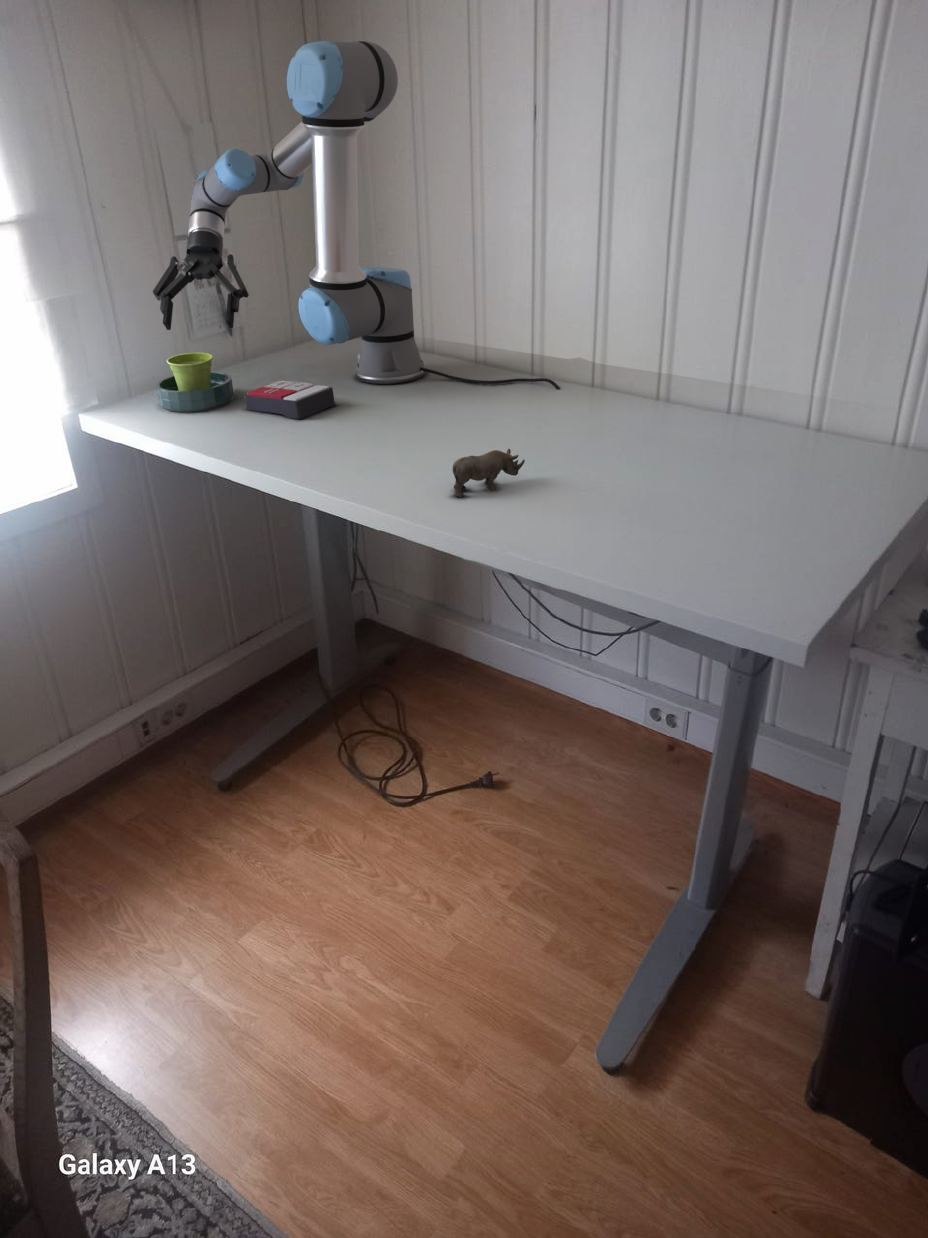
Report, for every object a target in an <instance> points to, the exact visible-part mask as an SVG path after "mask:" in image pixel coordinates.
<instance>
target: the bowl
mask: <svg viewBox="0 0 928 1238" xmlns="http://www.w3.org/2000/svg"><path fill="white" fill-rule="evenodd" d="M155 387H156V392H157V397H158V403H159V406H160V407H162V408H163V409H166V410H167V411H170V412H177V413H196V412H197V413H198V412H203V411H210V410H213V409H218V408H220V407H223V406H225V405H227V404H229V403H230V402H231V401H232V400H233V399H234V397H235V391H234V384H233V379H232V375H230V373H226V372H221V371H214V370H212V371H211V387H210V388H205V389H199V390H190V391H179V389H178V386H177V383H176V380H175V377H174V375H170V376H167V377H165V378H163V379H160V380H159V381H158V382H157V383H156V386H155Z"/></svg>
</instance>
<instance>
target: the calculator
mask: <svg viewBox="0 0 928 1238" xmlns="http://www.w3.org/2000/svg"><path fill="white" fill-rule="evenodd" d="M244 401H245V406H246V407H245V408H246V410H247V411H253V412H254V411H255V412H262V413H270V414H271V413H272V414H278V415H283V417H285V418H286V419H296V420H301V419H304V418H307V417H309V416H312V415H314V414H317V413H319V412H321V411H323V410H326V409H328V408H331V407H333V406H335V405H336V401H335V395H334V388H333V387H330V386H329V385H319V384H316V385H315V383H310V382H309V383H308V382H301V381H300V382H296V381H289V380H278V381H275V382H272V383H269V384H267V385H265V386H261V387H258V388H256V389H253V390H250V391H247V392H246V394H245V395H244Z"/></svg>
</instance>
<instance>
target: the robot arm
mask: <svg viewBox="0 0 928 1238" xmlns="http://www.w3.org/2000/svg"><path fill="white" fill-rule="evenodd" d="M398 84H399V77H398V71H397V66H396V64H395V62H394V60H393V58H392V56H391V55H390V54H389V53H388V51H387V50H385V49H384V48H383V47H382V46H380V44H379V45H378V44H377V43H374V42H372V41H369V40H368V41H367V40H358V41H340V40H339V41H338V40H337V41H335V40H334V41H333V40H332V41H331V40H330V41H329V40H323V41H322V40H320V41H314V42H308V43H306V44H303V45H301V47H299V48H298V49H297V50H296V52H295V54H294V55H293V56H292V58H291V59H290V62H289V65H288V68H287V75H286V89H287V90H286V91H287V95H288V98H289V100H290V101H291V102H292V103H291V105H292V107H293V109H294V110H295V111H296V112H297V113H298V114H300V115H301V122H299V123H298V124H297V125H296V126H295V127H294V128H293V129H292V130H290V131H289V133H288V134H287V135H285V136H284V137H283V138H282V139H281V140H280V141H279V142H278V143H277V144H276V145H275V146H274V147H273V148H272V149H270V150H269V151H268V152H266V153H262V154H252V155H250V154H249V153H248V152H246V151H245V150H241V149H239V148H238V147H237V148H236V147H233V148H230V149H227V150H226V151H225V152H224V153H223V154H222V155H221V156H219V157H218V159H217V160H216V161H215V163H214V164H213V166H212V167H211V169H210V170H203V171H202V172H199V173H200V175H199V177H198V179H197V180H196V182H195V183H196V184H195V187H194V191H193V195H191V196H192V200H191V199H190V209H189V222H188V231H187V239H186V240H187V242H186V255H185V258H184V259H181V258H177V256H175V255H174V256H171V257H170V261H169V265H168V266H167V268H166V270H165V271H164V273H163V274H162V276H161V277H160V279H159V281H158V282H157V284H156V285H155V286H154V288H153V289H152V294H153V296H154V297H155V298H156V300H157V301H160V306H159V311H160V312H161V314H162V315H163V316H162V324H163V326H164V327H165V329H166V331H171V329H172V321H173V310H174V302H173V299H174V298H175V297H176V296H177V295H178V294H179V293H181V291H183V289H184V288H185V287H186V286H187V285H188V284H189V283H190V284H191V283H192V282H193V281H195V279H196V281H200V280H211V279H213V278H215V279H216V281H217V282H219V284H221V286H222V287H223V288H224V289H225V290H226V291H227V292H228V294H227V301H226V314H225V316H226V317H225V323H226V324H227V326H228V327H229V329H233V328H234V322H235V313H239V310H240V301H241V299H242V298H245V299H246V298H248V297H249V296H250V294H249V292H248V289H247V287H246V285H245V283H244V281H243V279H242V278H241V274H239V271H238V269H237V262H236V259H235V257H234V255H233V254H228V255H227V257H223V251H224V239H225V238H224V237H225V226H226V215H227V210H228V209H229V208H230V207H231V206H232V205H233V204H234V203H235V202H236V200H237V199H238V198H239V197H241V196H247V195H248V196H249V195H254V194H261V193H269V192H277V191H288V190H290V189H294V188H297V187H298V186H300V185H301V184H302V181H303V178H304V174H305V171H307V170H308V168H310V167H311V170H312V171H311V172H312V189H313V190H312V193H313V194H312V195H313V218H314V219H313V220H314V241H315V243H314V244H315V263H316V265H315V267H314V268H313V269H312V270H311V271H310V272H309V273H308V278H309V287H308V288H307V289H305V290H304V291H302V293H301V295H300V296H299V299H298V314H299V317H300V321H301V323H302V325H303V327H304V328H305V330H306V331H307V332H308V334H309V336H310V337H311V338H313V339H314V340H315V341H316V342H318V343H320V344H323V345H326V346H330V345H335V344H344V343H347V342H348V341H352V340H355V339H358V338H361V345H360V350H359V354H358V353H357V360H358V363H357V365H356V378H357V380H358V381H361V382H363V383H366V384H371V385H372V384H374V385H394V384H397V385H398V384H404V383H409V382H413V381H415V380H418V379H420V378H422V377H424V375H425V373H428V374H433V375H437V376H439V377H440V376H441V377H444V378H446V379H450V380H454V381H459V382H464V383H470V384H481V385H495V384H496V385H499V384H508V383H517V382H518V383H519V382H520V383H522V382H523V383H525V382H526V383H538V382H540V383H541V382H546V383H549V384H550V385H552V387H554V388H555V389H556V390H558V391H559V390H561V387H560V386H559V385H558V383H556V382H555V381H554V380H552V379H550V378H545V377H539V378H538V377H536V378H522V377H521V378H520V377H519V378H508V379H499V380H497V379H496V380H482V379H471V378H465V377H460V376H455V375H450V374H448V373H444V372H440V371H437V370H433V369H430V368H426V367H425V364H424V361H423V359H422V358H421V355H420V352H419V349H418V346H417V343H416V339H415V328H414V327H415V325H414V308H413V288H412V283H411V276H410V274H409V272H408V271H407V270H405V269H401V268H394V267H381V266H380V267H377V266H365V267H361V266H360V252H359V249H360V248H359V246H360V245H359V196H358V195H359V194H358V193H359V191H358V190H359V189H358V139H357V137H358V135H359V133H360V132H361V131H362V130H363V129H364V128H365V123H369V122H371V121H373V120H375V119H376V118H377V117H378V116H379V115H381V114H382V113H383V112H384V111H385V110H386V109H387V108H388V107H389V106H390V104H391V103H392V101H393V100H394V98H395V96H396V94H397V90H398ZM202 181H203V183H202ZM202 186H203V188H202ZM203 190H204V191H203ZM224 266H225V268H227V269H229V270H230V271H231V274H232V276H233V278H234V280H235V282H236V284H237V287H238V289H237V288H236V287H235V286H234V285H233V284H232V283H231V281H229V280H228V279H227V277H226V276H225V275H224V274H223V273H222V272H221V269H222V268H223V267H224ZM179 272H180V273H179Z"/></svg>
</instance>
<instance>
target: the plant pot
mask: <svg viewBox="0 0 928 1238" xmlns="http://www.w3.org/2000/svg"><path fill="white" fill-rule="evenodd" d="M213 359H214V355H213V354H211V353H207V352H185V353H180V354H175V355H173V356H170V357H168V358H167V359H166V363H167V364H168V365H169V367H170V370H171V372H172V374H173V376H174V377H175V380H176V383H177V386H178V389H179V391H190V390H199V389H205V388H210V387H211V369H212V368H211V367H212V360H213Z"/></svg>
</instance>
